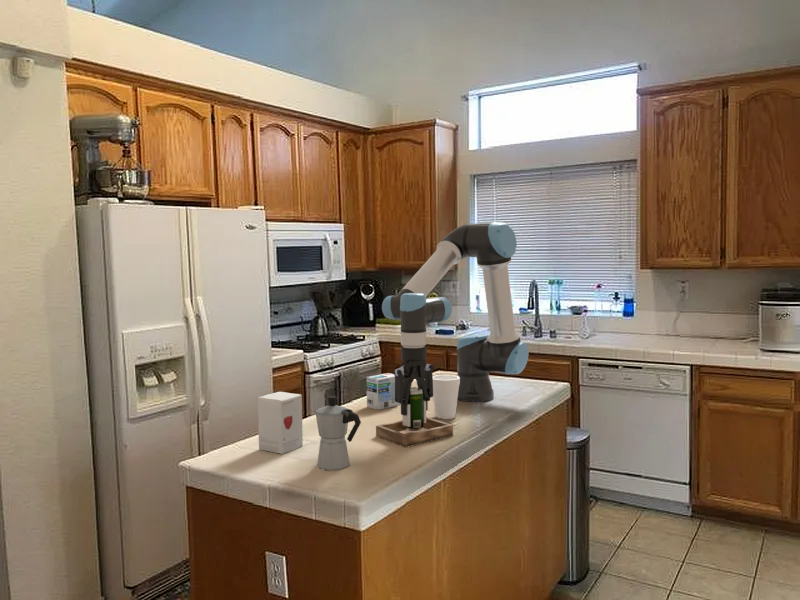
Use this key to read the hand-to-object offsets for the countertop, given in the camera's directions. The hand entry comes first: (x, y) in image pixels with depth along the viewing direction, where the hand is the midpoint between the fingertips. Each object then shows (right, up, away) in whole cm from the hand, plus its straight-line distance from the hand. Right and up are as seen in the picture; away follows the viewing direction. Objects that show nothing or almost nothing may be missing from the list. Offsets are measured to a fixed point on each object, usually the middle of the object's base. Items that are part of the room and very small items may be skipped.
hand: (414, 423), depth 195 cm
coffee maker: (-20, -6, -26) cm, 33 cm away
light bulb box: (-10, -1, +38) cm, 39 cm away
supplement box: (-38, -5, -10) cm, 39 cm away
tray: (0, -4, 0) cm, 4 cm away
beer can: (0, -2, 0) cm, 2 cm away
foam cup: (+11, -2, +22) cm, 25 cm away
